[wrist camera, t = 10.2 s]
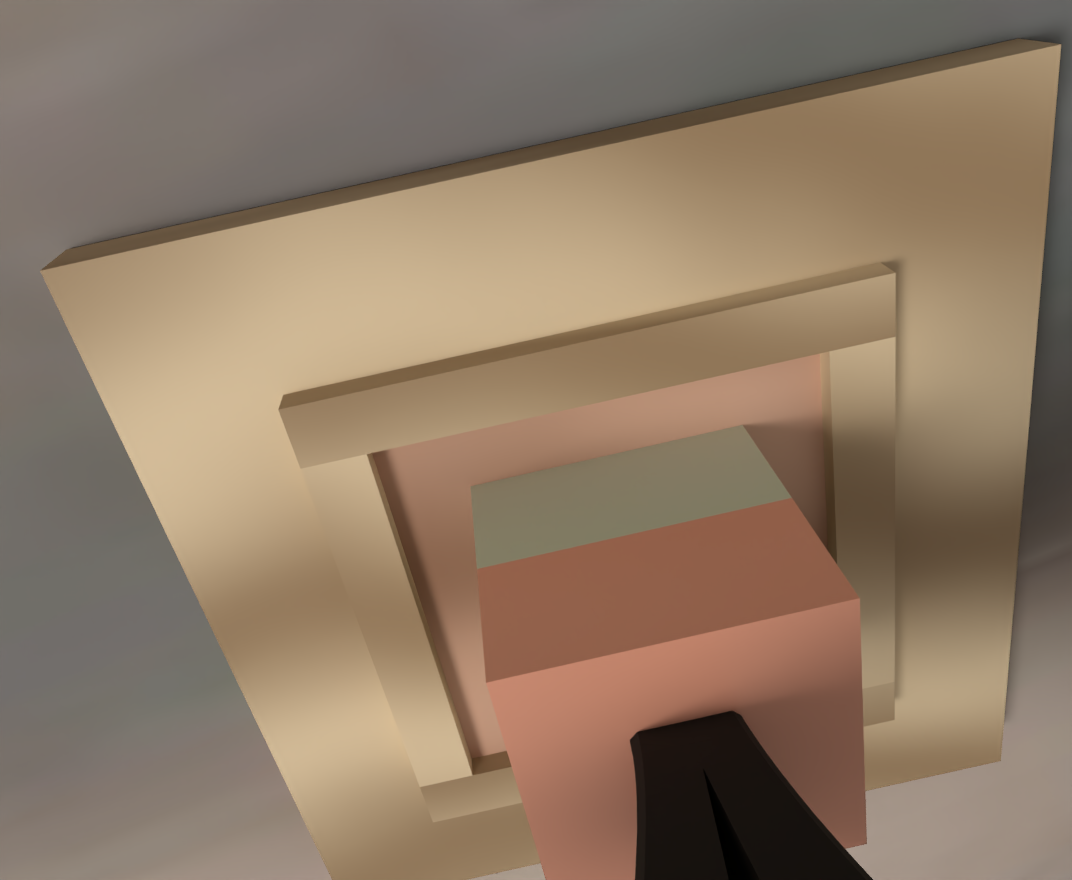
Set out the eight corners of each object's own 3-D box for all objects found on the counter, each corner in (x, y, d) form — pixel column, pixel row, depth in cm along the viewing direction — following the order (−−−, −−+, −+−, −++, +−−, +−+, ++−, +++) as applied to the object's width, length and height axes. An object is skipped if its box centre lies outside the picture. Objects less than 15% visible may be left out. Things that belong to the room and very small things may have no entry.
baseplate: (975, 724, 20) (1014, 780, 18) (349, 864, 20) (342, 929, 18) (1018, 38, 13) (1085, 47, 12) (66, 249, 13) (25, 283, 12)
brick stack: (762, 634, 16) (866, 843, 12) (526, 687, 16) (556, 913, 12) (742, 424, 14) (860, 598, 10) (470, 486, 14) (485, 682, 10)
